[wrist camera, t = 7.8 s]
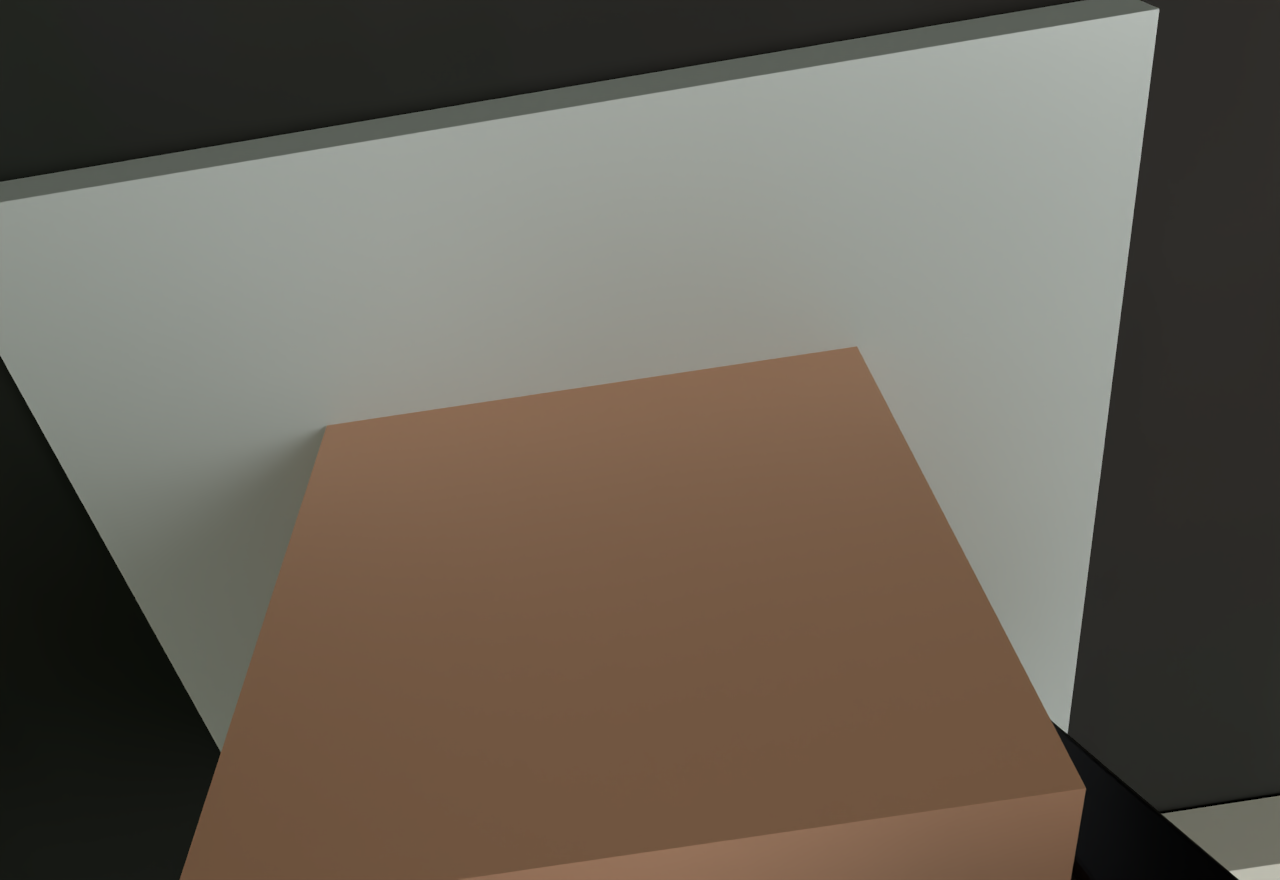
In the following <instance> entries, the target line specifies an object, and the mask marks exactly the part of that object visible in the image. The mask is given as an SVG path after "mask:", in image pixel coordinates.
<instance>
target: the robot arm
mask: <svg viewBox="0 0 1280 880" xmlns="http://www.w3.org/2000/svg"><path fill="white" fill-rule="evenodd" d="M1051 722H1052V723H1053V725H1054V727H1055V729H1056V731H1057V733H1058V735H1059V737H1060V739H1061V741H1062V743H1063V745H1064V747H1065V749H1066V750H1067V752H1068V754H1069V756H1070V758H1071V760H1072V762H1073V764H1074V766H1075V768H1076V770H1077V772H1078V774H1079V776H1080V777H1081V779H1082V781H1083V783H1084V785H1085V787H1086V792H1085V798H1084V804H1083V810H1082V816H1081V822H1080V828H1079V834H1078V840H1077V846H1076V851H1075V857H1074V863H1073V869H1072V875H1071V880H1239V879H1237V878H1236V877H1235V876H1234V875H1233V874H1232V873H1230V872H1229V871H1228V870H1227V869H1226V868H1225V867H1223V866H1222V865H1221V864H1220V863H1219V862H1217V861H1216V860H1215V859H1214V858H1213V857H1212V856H1210V855H1209V854H1208V853H1207V852H1206V851H1205V850H1203V849H1202V848H1201V847H1200V846H1199V845H1197V844H1196V843H1195V842H1194V841H1193V840H1192V839H1190V838H1189V837H1188V836H1187V835H1186V834H1184V833H1183V832H1182V831H1181V830H1180V829H1179V828H1177V827H1176V826H1175V825H1174V824H1173V823H1172V822H1170V821H1169V820H1168V819H1167V818H1166V817H1164V816H1163V815H1162V814H1161V813H1160V812H1159V811H1157V810H1156V809H1155V808H1154V807H1153V806H1152V805H1150V804H1149V803H1148V802H1147V801H1146V800H1144V799H1143V798H1142V797H1141V796H1140V795H1139V794H1137V793H1136V792H1135V791H1134V790H1133V789H1131V788H1130V787H1129V786H1128V785H1127V784H1126V783H1124V782H1123V781H1122V780H1121V779H1120V778H1119V777H1117V776H1116V775H1115V774H1114V773H1113V772H1111V771H1110V770H1109V769H1108V768H1107V767H1106V766H1104V765H1103V764H1102V763H1101V762H1100V761H1099V760H1097V759H1096V758H1095V757H1094V756H1093V755H1091V754H1090V753H1089V752H1088V751H1087V750H1086V749H1084V748H1083V747H1082V746H1081V745H1080V744H1078V743H1077V742H1076V741H1075V740H1074V739H1073V738H1071V737H1070V736H1069V735H1068V734H1067V733H1066V732H1064V731H1063V730H1062V729H1061V728H1060V727H1058V726H1057V725H1056V724H1055V723H1054V722H1053V721H1051Z"/></svg>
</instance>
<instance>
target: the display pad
mask: <svg viewBox="0 0 1280 880" xmlns="http://www.w3.org/2000/svg"><path fill="white" fill-rule="evenodd" d="M1158 16H1159V8H1156V7H1154V6H1152V5H1150V4H1147V3H1145V2H1143V1H1140V0H1084V1H1078V2H1072V3H1066V4H1060V5H1054V6H1048V7H1042V8H1036V9H1030V10H1024V11H1018V12H1012V13H1006V14H1000V15H994V16H988V17H982V18H976V19H970V20H964V21H958V22H952V23H946V24H940V25H934V26H928V27H922V28H917V29H911V30H905V31H899V32H893V33H887V34H881V35H875V36H869V37H863V38H857V39H851V40H845V41H839V42H833V43H827V44H821V45H815V46H809V47H803V48H797V49H791V50H785V51H779V52H773V53H767V54H761V55H755V56H749V57H743V58H737V59H731V60H725V61H719V62H713V63H707V64H701V65H695V66H690V67H684V68H678V69H672V70H666V71H660V72H654V73H648V74H642V75H636V76H630V77H624V78H618V79H612V80H606V81H600V82H594V83H588V84H582V85H576V86H570V87H564V88H558V89H552V90H546V91H540V92H534V93H528V94H522V95H516V96H510V97H504V98H498V99H492V100H486V101H480V102H474V103H469V104H463V105H457V106H451V107H445V108H439V109H433V110H427V111H421V112H415V113H409V114H403V115H397V116H391V117H385V118H379V119H373V120H367V121H361V122H355V123H349V124H343V125H337V126H331V127H325V128H319V129H313V130H307V131H301V132H295V133H289V134H283V135H277V136H271V137H265V138H259V139H253V140H247V141H242V142H236V143H230V144H224V145H218V146H212V147H206V148H200V149H194V150H188V151H182V152H176V153H170V154H164V155H158V156H152V157H146V158H140V159H134V160H128V161H122V162H116V163H110V164H104V165H98V166H92V167H86V168H80V169H74V170H68V171H62V172H56V173H50V174H44V175H38V176H32V177H26V178H21V179H15V180H9V181H3V182H0V356H1V358H2V360H3V361H4V363H5V365H6V367H7V369H8V370H9V372H10V374H11V376H12V378H13V379H14V381H15V383H16V385H17V387H18V388H19V390H20V392H21V394H22V396H23V397H24V399H25V401H26V403H27V405H28V406H29V408H30V410H31V412H32V414H33V415H34V417H35V419H36V421H37V423H38V424H39V426H40V428H41V430H42V432H43V433H44V435H45V437H46V439H47V441H48V442H49V444H50V446H51V448H52V450H53V451H54V453H55V455H56V457H57V459H58V460H59V462H60V464H61V466H62V468H63V469H64V471H65V473H66V475H67V477H68V478H69V480H70V482H71V484H72V485H73V487H74V489H75V491H76V493H77V494H78V496H79V498H80V500H81V502H82V503H83V505H84V507H85V509H86V511H87V512H88V514H89V516H90V518H91V520H92V521H93V523H94V525H95V527H96V529H97V530H98V532H99V534H100V536H101V538H102V539H103V541H104V543H105V545H106V547H107V548H108V550H109V552H110V554H111V556H112V557H113V559H114V561H115V563H116V565H117V566H118V568H119V570H120V572H121V574H122V575H123V577H124V579H125V581H126V583H127V584H128V586H129V588H130V590H131V592H132V593H133V595H134V597H135V599H136V601H137V602H138V604H139V606H140V608H141V610H142V611H143V613H144V615H145V617H146V618H147V620H148V622H149V624H150V626H151V627H152V629H153V631H154V633H155V635H156V636H157V638H158V640H159V642H160V644H161V645H162V647H163V649H164V651H165V653H166V654H167V656H168V658H169V660H170V662H171V663H172V665H173V667H174V669H175V671H176V672H177V674H178V676H179V678H180V680H181V681H182V683H183V685H184V687H185V689H186V690H187V692H188V694H189V696H190V698H191V699H192V701H193V703H194V705H195V707H196V708H197V710H198V712H199V714H200V716H201V717H202V719H203V721H204V723H205V725H206V726H207V728H208V730H209V732H210V734H211V735H212V737H213V739H214V741H215V742H216V744H217V746H218V748H219V750H220V751H222V748H223V745H224V741H225V738H226V735H227V732H228V729H229V726H230V723H231V720H232V717H233V714H234V711H235V708H236V704H237V701H238V698H239V695H240V692H241V689H242V686H243V683H244V680H245V677H246V674H247V670H248V667H249V664H250V661H251V658H252V655H253V652H254V649H255V646H256V643H257V640H258V636H259V633H260V630H261V627H262V624H263V621H264V618H265V615H266V612H267V609H268V606H269V603H270V599H271V596H272V593H273V590H274V587H275V584H276V581H277V578H278V575H279V572H280V569H281V565H282V562H283V559H284V556H285V553H286V550H287V547H288V544H289V541H290V538H291V535H292V531H293V528H294V525H295V522H296V519H297V516H298V513H299V510H300V507H301V504H302V501H303V498H304V494H305V491H306V488H307V485H308V482H309V479H310V476H311V473H312V470H313V467H314V464H315V460H316V457H317V454H318V451H319V448H320V445H321V442H322V439H323V436H324V433H325V430H326V426H327V425H333V424H340V423H347V422H353V421H360V420H367V419H373V418H380V417H387V416H394V415H400V414H407V413H414V412H420V411H427V410H434V409H441V408H447V407H454V406H461V405H467V404H474V403H481V402H487V401H494V400H501V399H508V398H514V397H521V396H528V395H534V394H541V393H548V392H554V391H561V390H568V389H575V388H581V387H588V386H595V385H601V384H608V383H615V382H621V381H628V380H635V379H642V378H648V377H655V376H662V375H668V374H675V373H682V372H689V371H695V370H702V369H709V368H715V367H722V366H729V365H735V364H742V363H749V362H756V361H762V360H769V359H776V358H782V357H789V356H796V355H802V354H809V353H816V352H823V351H829V350H836V349H843V348H849V347H856V346H857V347H858V349H859V351H860V353H861V355H862V357H863V359H864V361H865V363H866V365H867V367H868V369H869V370H870V372H871V374H872V376H873V378H874V380H875V382H876V384H877V386H878V388H879V390H880V392H881V394H882V396H883V397H884V399H885V401H886V403H887V405H888V407H889V409H890V411H891V413H892V415H893V417H894V419H895V421H896V423H897V424H898V426H899V428H900V430H901V432H902V434H903V436H904V438H905V440H906V442H907V444H908V446H909V448H910V450H911V451H912V453H913V455H914V457H915V459H916V461H917V463H918V465H919V467H920V469H921V471H922V473H923V475H924V477H925V478H926V480H927V482H928V484H929V486H930V488H931V490H932V492H933V494H934V496H935V498H936V500H937V502H938V504H939V505H940V507H941V509H942V511H943V513H944V515H945V517H946V519H947V521H948V523H949V525H950V527H951V529H952V531H953V532H954V534H955V536H956V538H957V540H958V542H959V544H960V546H961V548H962V550H963V552H964V554H965V556H966V558H967V559H968V561H969V563H970V565H971V567H972V569H973V571H974V573H975V575H976V577H977V579H978V581H979V583H980V585H981V586H982V588H983V590H984V592H985V594H986V596H987V598H988V600H989V602H990V604H991V606H992V608H993V610H994V612H995V613H996V615H997V617H998V619H999V621H1000V623H1001V625H1002V627H1003V629H1004V631H1005V633H1006V635H1007V637H1008V639H1009V640H1010V642H1011V644H1012V646H1013V648H1014V650H1015V652H1016V654H1017V656H1018V658H1019V660H1020V662H1021V664H1022V666H1023V667H1024V669H1025V671H1026V673H1027V675H1028V677H1029V679H1030V681H1031V683H1032V685H1033V687H1034V689H1035V691H1036V693H1037V695H1038V696H1039V698H1040V700H1041V702H1042V704H1043V706H1044V708H1045V710H1046V712H1047V714H1048V716H1049V718H1050V720H1051V721H1053V722H1054V723H1055V724H1056V725H1057V726H1058V727H1060V728H1061V729H1062V730H1063V731H1064V732H1066V733H1068V725H1069V718H1070V710H1071V702H1072V694H1073V686H1074V678H1075V670H1076V662H1077V654H1078V647H1079V639H1080V631H1081V623H1082V615H1083V607H1084V599H1085V591H1086V583H1087V576H1088V568H1089V560H1090V552H1091V544H1092V536H1093V528H1094V520H1095V512H1096V505H1097V497H1098V489H1099V481H1100V473H1101V465H1102V457H1103V449H1104V442H1105V434H1106V426H1107V418H1108V410H1109V402H1110V394H1111V386H1112V378H1113V371H1114V363H1115V355H1116V347H1117V339H1118V331H1119V323H1120V315H1121V307H1122V300H1123V292H1124V284H1125V276H1126V268H1127V260H1128V252H1129V244H1130V236H1131V229H1132V221H1133V213H1134V205H1135V197H1136V189H1137V181H1138V173H1139V165H1140V158H1141V150H1142V142H1143V134H1144V126H1145V118H1146V110H1147V102H1148V94H1149V87H1150V79H1151V71H1152V63H1153V55H1154V47H1155V39H1156V31H1157V23H1158Z"/></svg>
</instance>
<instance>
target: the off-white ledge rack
mask: <svg viewBox="0 0 1280 880" xmlns="http://www.w3.org/2000/svg"><path fill="white" fill-rule="evenodd" d="M1162 815H1163V816H1164V817H1166V818H1167V819H1168V820H1169V821H1170V822H1172V823H1173V824H1174V825H1175V826H1176V827H1177V828H1179V829H1180V830H1181V831H1182V832H1183V833H1184V834H1186V835H1187V836H1188V837H1189V838H1190V839H1192V840H1193V841H1194V842H1195V843H1196V844H1197V845H1199V846H1200V847H1201V848H1202V849H1203V850H1205V851H1206V852H1207V853H1208V854H1209V855H1210V856H1212V857H1213V858H1214V859H1215V860H1216V861H1217V862H1219V863H1220V864H1221V865H1222V866H1223V867H1225V868H1226V869H1227V870H1228V871H1229V872H1230V873H1232V874H1233V875H1234V876H1235V877H1236V878H1237V879H1239V880H1280V796H1275V797H1268V798H1262V799H1255V800H1248V801H1242V802H1235V803H1229V804H1222V805H1216V806H1209V807H1203V808H1196V809H1190V810H1183V811H1177V812H1170V813H1164V814H1162Z"/></svg>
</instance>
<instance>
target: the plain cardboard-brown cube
mask: <svg viewBox="0 0 1280 880" xmlns="http://www.w3.org/2000/svg"><path fill="white" fill-rule="evenodd" d="M1085 792H1086V787H1085V785H1084V783H1083V781H1082V779H1081V777H1080V776H1079V774H1078V772H1077V770H1076V768H1075V766H1074V764H1073V762H1072V760H1071V758H1070V756H1069V754H1068V752H1067V750H1066V749H1065V747H1064V745H1063V743H1062V741H1061V739H1060V737H1059V735H1058V733H1057V731H1056V729H1055V727H1054V725H1053V723H1052V722H1051V720H1050V718H1049V716H1048V714H1047V712H1046V710H1045V708H1044V706H1043V704H1042V702H1041V700H1040V698H1039V696H1038V695H1037V693H1036V691H1035V689H1034V687H1033V685H1032V683H1031V681H1030V679H1029V677H1028V675H1027V673H1026V671H1025V669H1024V667H1023V666H1022V664H1021V662H1020V660H1019V658H1018V656H1017V654H1016V652H1015V650H1014V648H1013V646H1012V644H1011V642H1010V640H1009V639H1008V637H1007V635H1006V633H1005V631H1004V629H1003V627H1002V625H1001V623H1000V621H999V619H998V617H997V615H996V613H995V612H994V610H993V608H992V606H991V604H990V602H989V600H988V598H987V596H986V594H985V592H984V590H983V588H982V586H981V585H980V583H979V581H978V579H977V577H976V575H975V573H974V571H973V569H972V567H971V565H970V563H969V561H968V559H967V558H966V556H965V554H964V552H963V550H962V548H961V546H960V544H959V542H958V540H957V538H956V536H955V534H954V532H953V531H952V529H951V527H950V525H949V523H948V521H947V519H946V517H945V515H944V513H943V511H942V509H941V507H940V505H939V504H938V502H937V500H936V498H935V496H934V494H933V492H932V490H931V488H930V486H929V484H928V482H927V480H926V478H925V477H924V475H923V473H922V471H921V469H920V467H919V465H918V463H917V461H916V459H915V457H914V455H913V453H912V451H911V450H910V448H909V446H908V444H907V442H906V440H905V438H904V436H903V434H902V432H901V430H900V428H899V426H898V424H897V423H896V421H895V419H894V417H893V415H892V413H891V411H890V409H889V407H888V405H887V403H886V401H885V399H884V397H883V396H882V394H881V392H880V390H879V388H878V386H877V384H876V382H875V380H874V378H873V376H872V374H871V372H870V370H869V369H868V367H867V365H866V363H865V361H864V359H863V357H862V355H861V353H860V351H859V349H858V347H857V346H856V347H849V348H843V349H836V350H829V351H823V352H816V353H809V354H802V355H796V356H789V357H782V358H776V359H769V360H762V361H756V362H749V363H742V364H735V365H729V366H722V367H715V368H709V369H702V370H695V371H689V372H682V373H675V374H668V375H662V376H655V377H648V378H642V379H635V380H628V381H621V382H615V383H608V384H601V385H595V386H588V387H581V388H575V389H568V390H561V391H554V392H548V393H541V394H534V395H528V396H521V397H514V398H508V399H501V400H494V401H487V402H481V403H474V404H467V405H461V406H454V407H447V408H441V409H434V410H427V411H420V412H414V413H407V414H400V415H394V416H387V417H380V418H373V419H367V420H360V421H353V422H347V423H340V424H333V425H327V426H326V430H325V433H324V436H323V439H322V442H321V445H320V448H319V451H318V454H317V457H316V460H315V464H314V467H313V470H312V473H311V476H310V479H309V482H308V485H307V488H306V491H305V494H304V498H303V501H302V504H301V507H300V510H299V513H298V516H297V519H296V522H295V525H294V528H293V531H292V535H291V538H290V541H289V544H288V547H287V550H286V553H285V556H284V559H283V562H282V565H281V569H280V572H279V575H278V578H277V581H276V584H275V587H274V590H273V593H272V596H271V599H270V603H269V606H268V609H267V612H266V615H265V618H264V621H263V624H262V627H261V630H260V633H259V636H258V640H257V643H256V646H255V649H254V652H253V655H252V658H251V661H250V664H249V667H248V670H247V674H246V677H245V680H244V683H243V686H242V689H241V692H240V695H239V698H238V701H237V704H236V708H235V711H234V714H233V717H232V720H231V723H230V726H229V729H228V732H227V735H226V738H225V741H224V745H223V748H222V751H221V754H220V757H219V760H218V763H217V766H216V769H215V772H214V775H213V779H212V782H211V785H210V788H209V791H208V794H207V797H206V800H205V803H204V806H203V809H202V813H201V816H200V819H199V822H198V825H197V828H196V831H195V834H194V837H193V840H192V843H191V846H190V850H189V853H188V856H187V859H186V862H185V865H184V868H183V871H182V874H181V877H180V880H1071V875H1072V869H1073V863H1074V857H1075V851H1076V846H1077V840H1078V834H1079V828H1080V822H1081V816H1082V810H1083V804H1084V798H1085Z"/></svg>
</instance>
